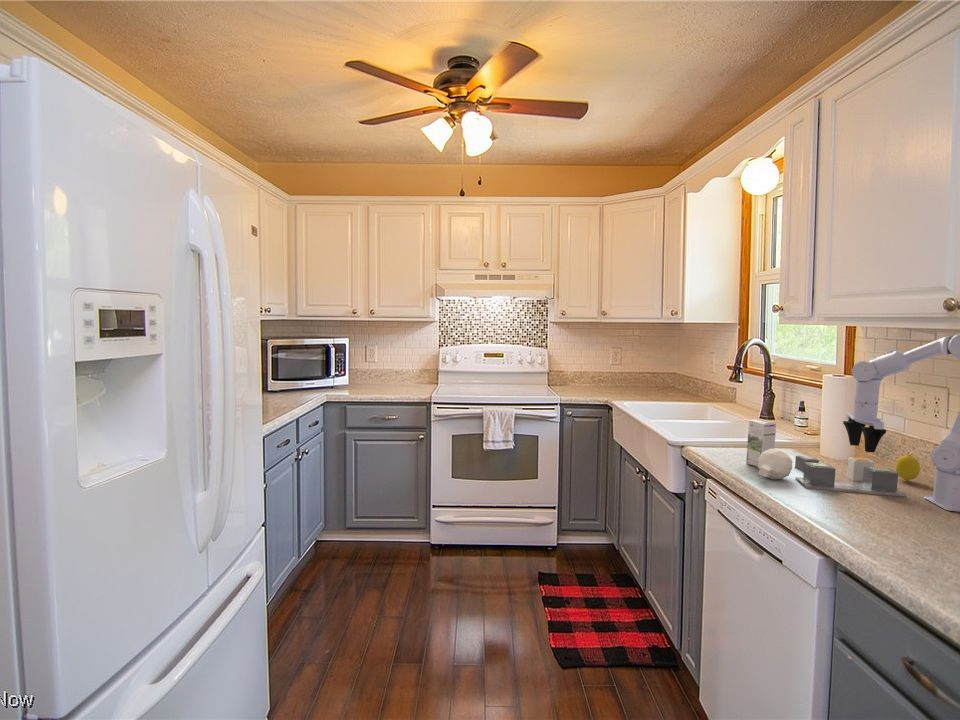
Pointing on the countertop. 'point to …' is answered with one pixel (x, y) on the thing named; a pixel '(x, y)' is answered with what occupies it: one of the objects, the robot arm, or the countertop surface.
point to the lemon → (907, 467)
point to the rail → (873, 481)
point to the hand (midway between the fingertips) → (861, 448)
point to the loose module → (857, 468)
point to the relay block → (801, 459)
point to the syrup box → (759, 439)
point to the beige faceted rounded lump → (774, 464)
